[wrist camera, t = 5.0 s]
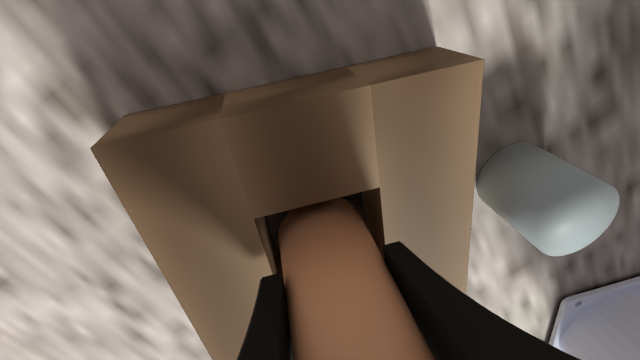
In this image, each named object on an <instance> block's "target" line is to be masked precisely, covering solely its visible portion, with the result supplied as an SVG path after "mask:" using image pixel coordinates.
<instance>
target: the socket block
mask: <svg viewBox="0 0 640 360" xmlns="http://www.w3.org/2000/svg"><path fill="white" fill-rule="evenodd" d="M483 69H484V59H481V58H478V57H474V56H470V55H467V54H463V53H459V52H456V51H452V50H448V49H444V48H441V47H433V48H429V49H424V50H419V51H415V52H410V53H406V54H401V55H397V56H392V57H388V58H383V59H379V60H374V61H370V62H365V63H361V64H356V65H351V66H347V67H342V68H338V69H333V70H329V71H324V72H320V73H315V74H311V75H306V76H302V77H297V78H293V79H288V80H284V81H279V82H274V83H270V84H265V85H261V86H256V87H252V88H247V89H243V90H238V91H234V92H229V93H225V94H220V95H216V96H211V97H206V98H202V99H197V100H193V101H188V102H184V103H179V104H175V105H170V106H166V107H161V108H157V109H152V110H148V111H143V112H138V113H134V114H129V115H125V116H123V117H122V118H121V119H120V120H119V121H118V122H117V123H116V124H115V125H114V126H113V127H112V128H111V129H110V130H109V131H108V132H107V133H106V134H105V135H104V136H103V137H102V138H101V139H99V140H98V141H97V142H96V143H95V144H94V145H93V146H92V147H91V148H90V149H91V151H92V152H93V154H94V156H95V158H96V159H97V161H98V163H99V164H100V166H101V168H102V170H103V171H104V173H105V175H106V177H107V178H108V180H109V182H110V183H111V185H112V187H113V189H114V190H115V192H116V194H117V196H118V197H119V199H120V201H121V202H122V204H123V206H124V208H125V209H126V211H127V213H128V215H129V216H130V218H131V220H132V221H133V223H134V225H135V227H136V228H137V230H138V232H139V234H140V235H141V237H142V239H143V240H144V242H145V244H146V246H147V247H148V249H149V251H150V253H151V254H152V256H153V258H154V259H155V261H156V263H157V265H158V266H159V268H160V270H161V272H162V273H163V275H164V277H165V278H166V280H167V282H168V284H169V285H170V287H171V289H172V290H173V292H174V294H175V296H176V297H177V299H178V301H179V303H180V304H181V306H182V308H183V309H184V311H185V313H186V315H187V316H188V318H189V320H190V322H191V323H192V325H193V327H194V328H195V330H196V332H197V334H198V335H199V337H200V339H201V341H202V342H203V344H204V346H205V347H206V349H207V351H208V353H209V354H210V356H211V358H212V360H237V357H238V355H239V352H240V349H241V347H242V344H243V341H244V338H245V336H246V332H247V329H248V326H249V323H250V320H251V316H252V313H253V309H254V306H255V302H256V298H257V293H258V289H259V283H260V280H261V279H262V277H265V276H269V275H273V274H277V273H280V274H281V277H282V281H283V284H284V278H283V270H282V262H281V256H280V257H278V256H277V252H276V249H275V246H274V243H273V240H272V237H271V234H270V231H269V227H268V224H267V221H266V218H265V216H267V215H271V214H275V213H279V212H283V211H287V210H291V209H295V208H299V207H303V206H307V205H311V204H315V203H319V202H323V201H327V200H331V199H335V198H339V197H343V196H347V195H351V194H355V193H359V192H362V200H363V207H364V215H365V223H366V226H367V228H368V230H369V232H370V234H371V236H372V238H373V240H374V242H375V244H376V246H377V247H378V249H379V251H380V253H381V255H382V257H383V259H384V256H383V246H382V245H386V244H390V243H394V242H397V241H400V242H402V243H403V244H404V245H405V246H406V247H407V248H408V249H410V250H411V251H412V252H413V253H414V254H415V255H416V256H417V257H419V258H420V259H421V260H422V261H423V262H424V263H426V264H427V265H428V266H429V267H430V268H432V269H433V270H434V271H435V272H437V273H438V274H439V275H440V276H442V277H443V278H444V279H445V280H447V281H448V282H449V283H451V284H452V285H453V286H455V287H456V288H457V289H459V290H460V291H461V292H463V293H464V294H466V286H467V274H468V261H469V248H470V235H471V223H472V210H473V197H474V184H475V171H476V159H477V146H478V133H479V120H480V108H481V95H482V82H483ZM284 287H285V286H284Z"/></svg>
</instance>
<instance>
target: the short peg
mask: <svg viewBox="0 0 640 360" xmlns="http://www.w3.org/2000/svg"><path fill="white" fill-rule="evenodd" d="M477 192H478V195H479V197H480V198H481V199H482V200H483V201H484V202H485V203H486V204H487V205H488V206H490V207H491V208H492V209H493V210H494V211H495V212H496V213H498V214H499V215H500V216H501V217H502V218H503V219H504V220H505V221H507V222H508V223H509V224H510V225H511V226H512V227H513V228H515V229H516V230H517V231H518V232H519V233H520V234H521V235H523V236H524V237H525V238H526V239H527V240H528V241H529V242H531V243H532V244H533V245H534V246H535V247H536V248H537V249H539V250H540V251H541V252H542V253H544V254H546V255H549V256H563V255H568V254H571V253H574V252H576V251H578V250H580V249H582V248H584V247H586V246H587V245H589V244H590V243H592V242H593V241H594V240H596V239H597V238H598V237H599V236H600V235H601V234H602V233H603V232H604V231H605V230H606V229H607V228H608V227H609V225H610V224H611V222H612V221H613V219H614V217H615V216H616V213H617V211H618V207H619V202H620V201H619V194H618V192H617V190H616V189H615V187H613V186H612V185H610V184H608V183H606V182H604V181H602V180H601V179H599V178H597V177H595V176H593V175H591V174H589V173H587V172H585V171H583V170H581V169H580V168H578V167H576V166H574V165H572V164H570V163H568V162H566V161H564V160H562V159H560V158H558V157H557V156H555V155H553V154H551V153H549V152H547V151H545V150H543V149H541V148H539V147H537V146H536V145H533V144H531V143H527V142H519V143H514V144H511V145H508V146H506V147H504V148H502V149H501V150H499V151H498V152H496V153H495V154H494V155H493V156H492V157H491V158H490V159H489V160H488V161H487V162H486V163H485V165H484V166H483V168H482V170H481V171H480V174H479V176H478V180H477Z"/></svg>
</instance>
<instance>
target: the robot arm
mask: <svg viewBox="0 0 640 360" xmlns="http://www.w3.org/2000/svg"><path fill="white" fill-rule="evenodd" d="M382 246H383V256H384V261H385V263H386V265H387V267H388V269H389V271H390V273H391V275H392V277H393V279H394V281H395V283H396V285H397V287H398V289H399V290H400V292H401V294H402V296H403V298H404V300H405V302H406V304H407V306H408V308H409V310H410V312H411V314H412V316H413V318H414V320H415V322H416V324H417V326H418V328H419V330H420V331H421V333H422V335H423V337H424V339H425V341H426V343H427V345H428V347H429V349H430V351H431V353H432V355H433V357H434V359H435V360H640V276H639V277H635V278H632V279H628V280H625V281H621V282H618V283H615V284H611V285H608V286H604V287H601V288H597V289H594V290H590V291H587V292H583V293H580V294H576V295H573V296H570V297H567V298H565V299H563V300H562V302H561V304H560V307H559V311H558V314H557V317H556V321H555V324H554V327H553V331H552V334H551V337H550V341H549V344H548V343H546V342H544V341H542V340H540V339H538V338H536V337H534V336H532V335H530V334H528V333H527V332H525V331H523V330H521V329H520V328H518V327H516V326H514V325H513V324H511V323H509V322H507V321H506V320H504V319H502V318H501V317H499V316H497V315H496V314H494V313H493V312H491V311H489V310H488V309H486V308H485V307H483V306H482V305H480V304H479V303H477V302H476V301H474V300H473V299H471V298H470V297H469V296H467V295H466V294H464V293H463V292H461V291H460V290H459V289H457V288H456V287H455V286H453V285H452V284H451V283H449V282H448V281H447V280H445V279H444V278H443V277H442V276H440V275H439V274H438V273H437V272H435V271H434V270H433V269H432V268H430V267H429V266H428V265H427V264H426V263H424V262H423V261H422V260H421V259H420V258H419V257H417V256H416V255H415V254H414V253H413V252H412V251H411V250H410V249H408V248H407V247H406V246H405V245H404V244H403V243H402V242H400V241H397V242H394V243H390V244H386V245H382ZM237 360H294V359H293V351H292V343H291V335H290V327H289V318H288V310H287V301H286V293H285V287H284V284H283V281H282V277H281V274H280V273H277V274H273V275H269V276H265V277H262V279H261V280H260V283H259V289H258V293H257V298H256V302H255V306H254V309H253V313H252V316H251V320H250V323H249V326H248V329H247V332H246V336H245V338H244V341H243V344H242V347H241V349H240V352H239V355H238V357H237Z"/></svg>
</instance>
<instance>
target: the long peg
mask: <svg viewBox="0 0 640 360" xmlns="http://www.w3.org/2000/svg"><path fill="white" fill-rule="evenodd" d="M278 236H279V246H280V254H281V262H282V270H283V278H284V286H285V293H286V301H287V310H288V318H289V327H290V335H291V343H292V351H293V359H294V360H435V359H434V357H433V355H432V353H431V351H430V349H429V347H428V345H427V343H426V341H425V339H424V337H423V335H422V333H421V331H420V330H419V328H418V326H417V324H416V322H415V320H414V318H413V316H412V314H411V312H410V310H409V308H408V306H407V304H406V302H405V300H404V298H403V296H402V294H401V292H400V290H399V289H398V287H397V285H396V283H395V281H394V279H393V277H392V275H391V273H390V271H389V269H388V267H387V265H386V263H385V261H384V259H383V257H382V255H381V253H380V251H379V249H378V247H377V246H376V244H375V242H374V240H373V238H372V236H371V234H370V232H369V230H368V228H367V226H366V224H365V222H364V220H363V218H362V216H361V214H360V212H359V211H358V209H357V208H356V207H355V206H354V205H353V204H351V203H350V202H348V201H347V200H344V199H342V198H335V199H331V200H327V201H323V202H319V203H315V204H311V205H307V206H303V207H299V208H295V209H291V210H290V211H289V212H288V213H287V215H286V216H285V217H284V219H283V221H282V223H281V225H280V228H279V235H278Z"/></svg>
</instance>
